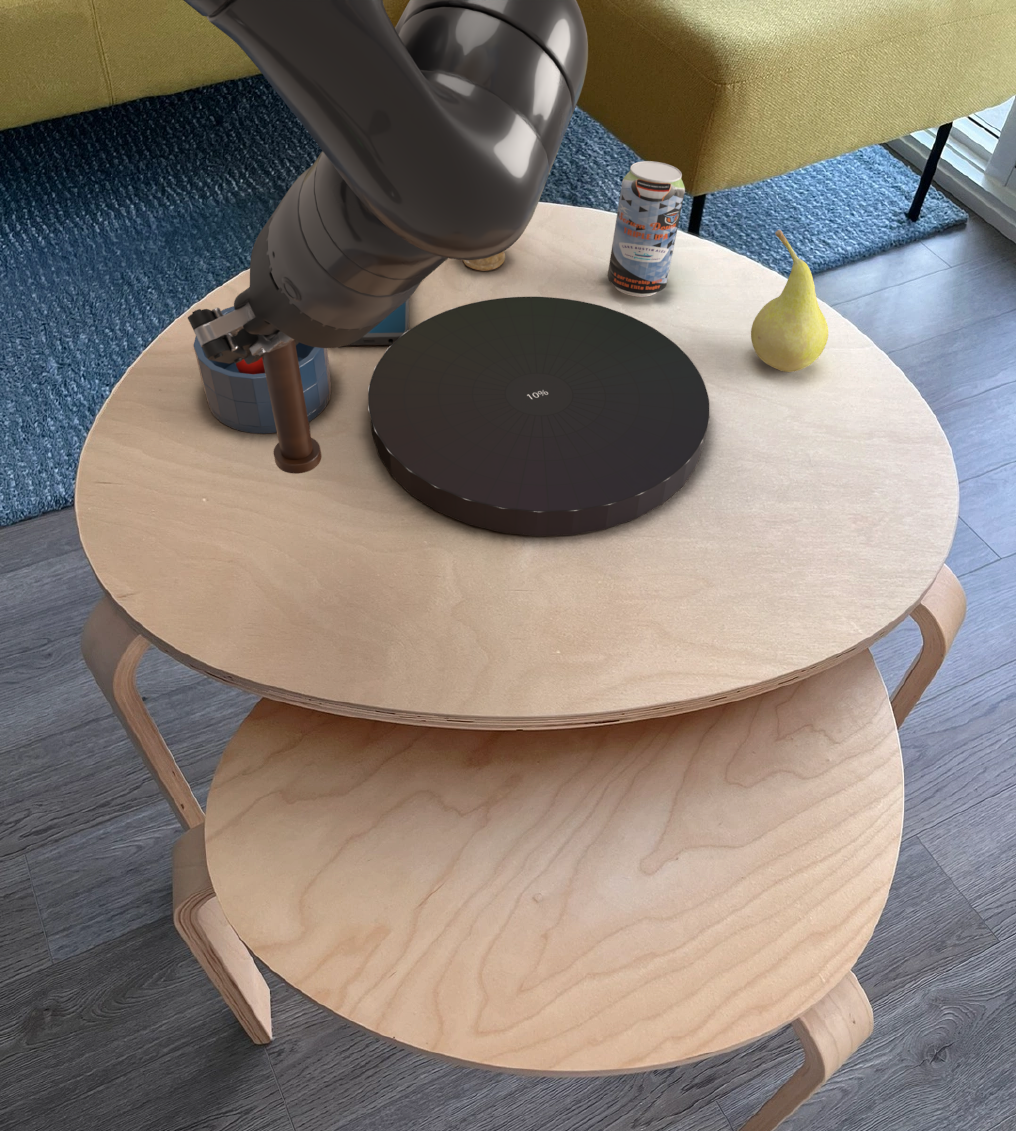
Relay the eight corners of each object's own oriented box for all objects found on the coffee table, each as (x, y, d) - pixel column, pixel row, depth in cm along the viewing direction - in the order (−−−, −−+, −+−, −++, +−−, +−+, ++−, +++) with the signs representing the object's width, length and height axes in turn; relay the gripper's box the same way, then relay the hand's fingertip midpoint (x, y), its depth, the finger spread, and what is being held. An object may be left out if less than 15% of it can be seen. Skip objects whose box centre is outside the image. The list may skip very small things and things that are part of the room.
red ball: (262, 388, 103) (231, 380, 102) (264, 364, 104) (234, 356, 103) (269, 368, 101) (238, 360, 100) (271, 345, 102) (240, 336, 101)
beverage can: (600, 299, 113) (610, 184, 103) (617, 261, 117) (629, 147, 108) (661, 311, 112) (677, 196, 102) (676, 272, 116) (693, 158, 107)
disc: (565, 287, 114) (567, 260, 112) (774, 446, 99) (781, 419, 97) (308, 393, 103) (304, 366, 100) (501, 591, 88) (501, 565, 86)
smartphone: (329, 345, 107) (328, 337, 106) (336, 257, 116) (335, 249, 116) (409, 344, 107) (408, 336, 107) (409, 257, 117) (409, 248, 116)
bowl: (284, 449, 98) (274, 393, 93) (181, 407, 101) (166, 351, 96) (355, 380, 104) (349, 324, 99) (256, 343, 107) (245, 287, 103)
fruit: (784, 396, 104) (815, 280, 94) (726, 357, 107) (749, 241, 98) (832, 368, 106) (866, 253, 97) (773, 331, 110) (801, 216, 101)
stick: (304, 479, 76) (275, 319, 67) (265, 465, 77) (231, 305, 68) (330, 452, 78) (306, 292, 69) (292, 438, 79) (263, 279, 69)
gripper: (425, 141, 59) (329, 250, 74) (182, 222, 53) (135, 321, 69) (484, 279, 60) (378, 357, 76) (254, 371, 55) (192, 435, 71)
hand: (263, 340), depth 72 cm, fingers closed on stick, 2 cm apart
